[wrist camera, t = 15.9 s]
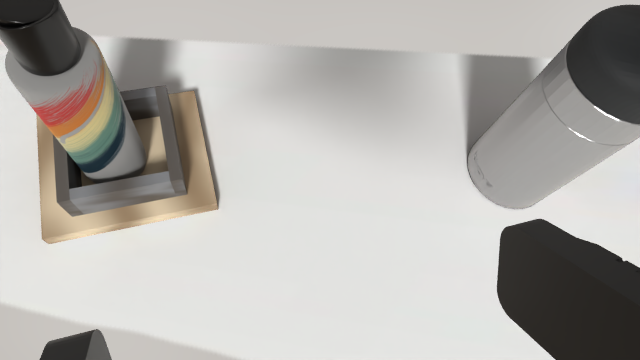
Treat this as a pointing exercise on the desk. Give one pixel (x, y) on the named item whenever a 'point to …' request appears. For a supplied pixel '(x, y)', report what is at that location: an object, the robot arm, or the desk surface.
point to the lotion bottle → (70, 89)
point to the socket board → (138, 192)
